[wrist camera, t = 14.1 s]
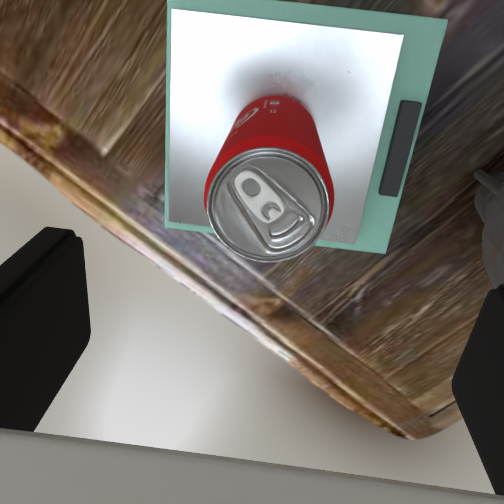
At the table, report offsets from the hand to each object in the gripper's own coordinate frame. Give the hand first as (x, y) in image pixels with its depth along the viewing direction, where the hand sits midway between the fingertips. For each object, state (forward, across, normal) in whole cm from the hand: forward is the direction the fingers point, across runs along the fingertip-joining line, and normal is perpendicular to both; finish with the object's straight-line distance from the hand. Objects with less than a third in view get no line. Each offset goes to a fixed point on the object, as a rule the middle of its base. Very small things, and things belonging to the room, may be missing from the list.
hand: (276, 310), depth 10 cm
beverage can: (+19, +1, +1) cm, 19 cm away
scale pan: (+20, +1, +1) cm, 20 cm away
